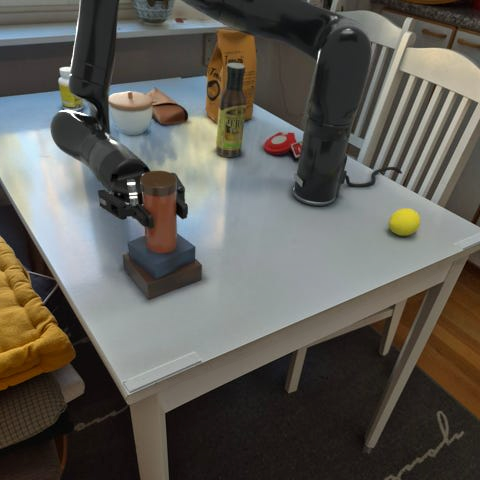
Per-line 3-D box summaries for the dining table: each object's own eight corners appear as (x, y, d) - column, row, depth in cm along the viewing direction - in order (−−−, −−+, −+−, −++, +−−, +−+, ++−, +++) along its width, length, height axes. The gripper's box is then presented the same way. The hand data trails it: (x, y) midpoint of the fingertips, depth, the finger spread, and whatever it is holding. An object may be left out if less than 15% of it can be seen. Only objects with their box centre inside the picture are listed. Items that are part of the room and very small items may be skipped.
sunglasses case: (131, 101, 134) (140, 78, 131) (150, 111, 139) (160, 89, 136) (161, 125, 124) (172, 100, 121) (181, 134, 129) (192, 111, 126)
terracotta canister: (167, 232, 78) (165, 167, 70) (183, 248, 75) (183, 182, 67) (139, 240, 76) (133, 175, 68) (154, 257, 73) (150, 191, 65)
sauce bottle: (223, 160, 113) (229, 70, 99) (211, 150, 116) (214, 61, 102) (246, 156, 115) (254, 68, 101) (233, 146, 119) (239, 59, 105)
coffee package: (200, 113, 133) (202, 24, 117) (238, 108, 138) (244, 22, 123) (218, 127, 127) (222, 34, 112) (256, 121, 132) (265, 32, 117)
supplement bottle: (78, 112, 126) (72, 73, 119) (59, 109, 127) (52, 70, 120) (86, 106, 130) (81, 67, 123) (68, 103, 131) (62, 64, 124)
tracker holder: (257, 148, 116) (272, 125, 121) (260, 163, 120) (275, 141, 125) (302, 149, 111) (316, 126, 116) (305, 166, 114) (318, 142, 119)
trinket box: (103, 133, 118) (99, 94, 112) (123, 119, 126) (120, 81, 119) (142, 142, 116) (140, 102, 110) (160, 126, 124) (159, 89, 117)
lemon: (392, 242, 93) (401, 219, 89) (379, 227, 96) (386, 204, 92) (422, 238, 94) (432, 215, 91) (408, 224, 98) (416, 201, 94)
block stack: (175, 252, 85) (174, 222, 80) (201, 279, 80) (202, 249, 75) (124, 269, 80) (120, 238, 76) (148, 299, 75) (146, 268, 71)
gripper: (74, 157, 73) (121, 207, 64) (156, 140, 80) (210, 184, 70) (81, 200, 78) (126, 252, 69) (158, 181, 85) (208, 227, 76)
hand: (168, 218), depth 70 cm, fingers closed on terracotta canister, 5 cm apart
